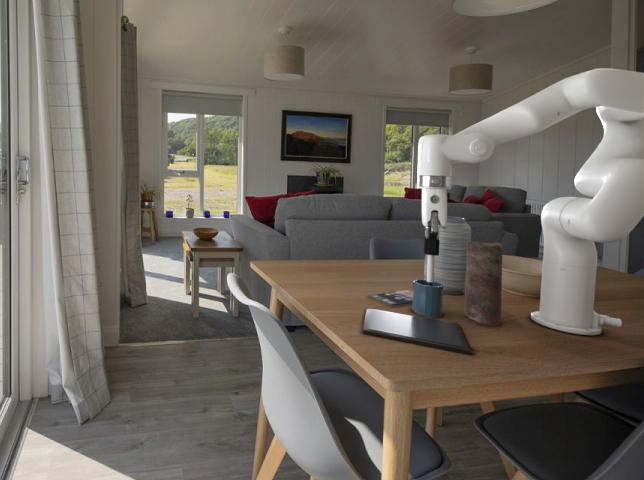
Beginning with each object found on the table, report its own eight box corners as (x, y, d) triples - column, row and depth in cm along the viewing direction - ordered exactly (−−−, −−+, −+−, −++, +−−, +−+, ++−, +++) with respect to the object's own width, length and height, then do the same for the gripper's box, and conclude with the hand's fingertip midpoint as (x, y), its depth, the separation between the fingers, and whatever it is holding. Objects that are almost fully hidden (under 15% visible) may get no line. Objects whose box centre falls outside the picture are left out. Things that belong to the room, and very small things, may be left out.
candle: (456, 316, 100) (460, 239, 99) (474, 313, 103) (479, 237, 102) (488, 328, 93) (494, 245, 92) (507, 324, 96) (512, 243, 95)
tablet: (457, 326, 93) (458, 323, 93) (470, 354, 79) (470, 350, 79) (366, 311, 102) (366, 307, 102) (363, 333, 88) (363, 329, 88)
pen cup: (439, 311, 103) (441, 281, 103) (442, 319, 97) (444, 288, 97) (411, 306, 106) (412, 277, 106) (412, 314, 100) (414, 284, 100)
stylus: (432, 285, 102) (435, 232, 101) (433, 287, 100) (435, 233, 100) (426, 285, 103) (428, 232, 102) (426, 286, 101) (428, 232, 101)
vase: (430, 282, 131) (433, 214, 130) (471, 291, 122) (476, 218, 121) (418, 289, 123) (421, 216, 122) (461, 298, 114) (466, 220, 113)
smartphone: (368, 297, 113) (368, 293, 113) (406, 292, 119) (406, 289, 119) (391, 307, 106) (391, 302, 106) (431, 301, 111) (431, 297, 111)
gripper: (456, 184, 92) (452, 262, 92) (447, 182, 106) (444, 250, 106) (419, 183, 95) (416, 258, 96) (415, 181, 109) (412, 247, 110)
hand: (431, 253), depth 101 cm, fingers closed on stylus, 1 cm apart
